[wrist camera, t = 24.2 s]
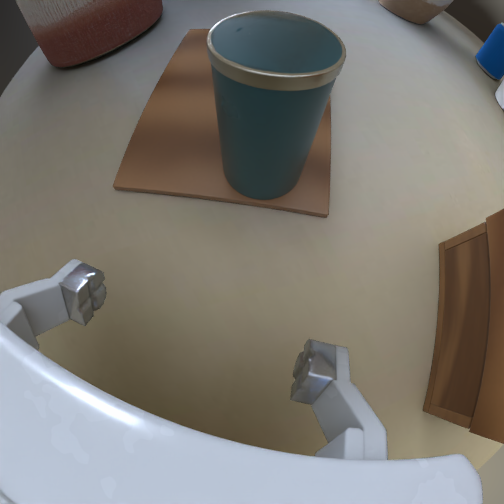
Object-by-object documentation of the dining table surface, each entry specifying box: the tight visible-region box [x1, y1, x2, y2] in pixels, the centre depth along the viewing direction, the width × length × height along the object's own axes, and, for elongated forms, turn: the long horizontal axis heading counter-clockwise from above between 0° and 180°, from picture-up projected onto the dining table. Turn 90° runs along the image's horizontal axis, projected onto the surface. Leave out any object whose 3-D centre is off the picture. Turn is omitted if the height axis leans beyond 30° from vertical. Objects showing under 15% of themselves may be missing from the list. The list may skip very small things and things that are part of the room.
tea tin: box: [206, 10, 346, 200], centre depth 14 cm, size 6×6×11 cm
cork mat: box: [113, 29, 331, 217], centre depth 22 cm, size 22×16×1 cm
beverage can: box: [476, 23, 504, 80], centre depth 22 cm, size 6×6×12 cm
